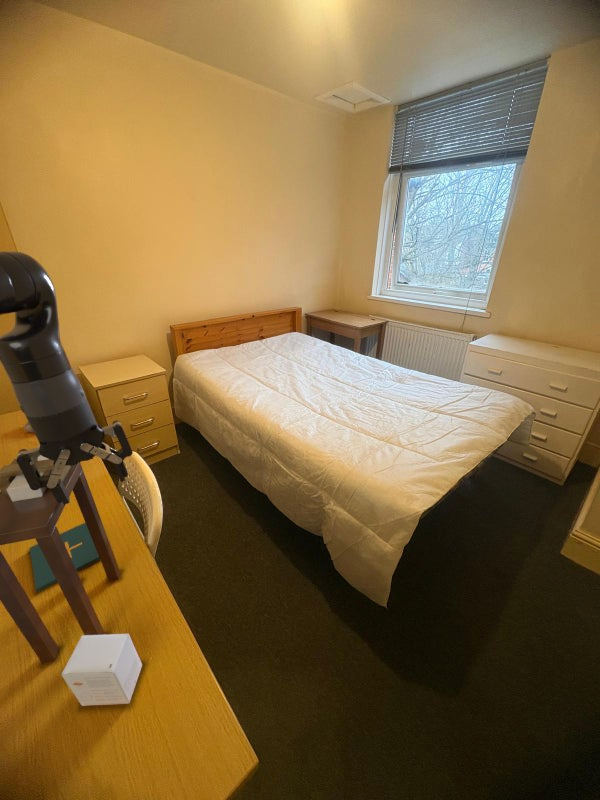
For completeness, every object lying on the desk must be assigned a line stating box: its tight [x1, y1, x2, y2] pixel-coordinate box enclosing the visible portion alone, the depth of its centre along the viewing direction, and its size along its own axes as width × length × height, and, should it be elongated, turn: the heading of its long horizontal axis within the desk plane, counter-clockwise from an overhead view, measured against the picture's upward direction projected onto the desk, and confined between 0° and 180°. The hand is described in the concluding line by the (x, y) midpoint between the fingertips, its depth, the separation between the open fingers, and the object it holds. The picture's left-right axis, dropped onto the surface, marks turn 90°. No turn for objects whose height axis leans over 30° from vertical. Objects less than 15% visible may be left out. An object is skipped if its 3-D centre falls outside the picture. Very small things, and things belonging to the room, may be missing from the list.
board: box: [29, 522, 101, 593], centre depth 78 cm, size 14×14×1 cm
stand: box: [0, 458, 121, 665], centre depth 58 cm, size 10×16×36 cm, turn 17°
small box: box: [60, 633, 143, 707], centre depth 53 cm, size 8×6×10 cm
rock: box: [23, 421, 34, 433], centre depth 130 cm, size 13×10×4 cm
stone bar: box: [6, 444, 48, 502], centre depth 58 cm, size 4×17×2 cm, turn 17°
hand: (95, 489), depth 53 cm, fingers open, 8 cm apart
